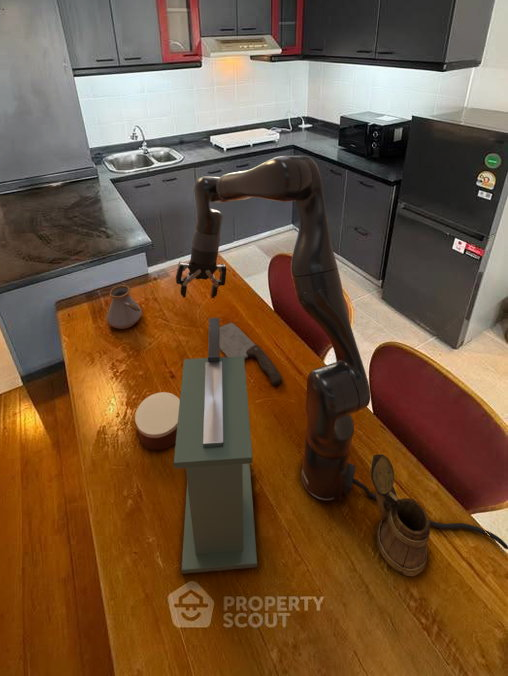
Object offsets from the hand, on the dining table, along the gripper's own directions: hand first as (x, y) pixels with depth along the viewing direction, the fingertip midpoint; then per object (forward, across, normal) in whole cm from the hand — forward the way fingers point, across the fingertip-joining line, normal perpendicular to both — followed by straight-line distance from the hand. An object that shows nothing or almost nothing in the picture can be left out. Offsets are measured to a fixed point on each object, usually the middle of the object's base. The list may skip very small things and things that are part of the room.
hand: (198, 296), depth 112 cm
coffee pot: (+22, -18, +16) cm, 32 cm away
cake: (+25, -9, -22) cm, 35 cm away
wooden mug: (+22, +34, -56) cm, 69 cm away
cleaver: (+18, +16, -4) cm, 25 cm away
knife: (-6, -3, -41) cm, 42 cm away
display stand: (+26, +2, -42) cm, 50 cm away
